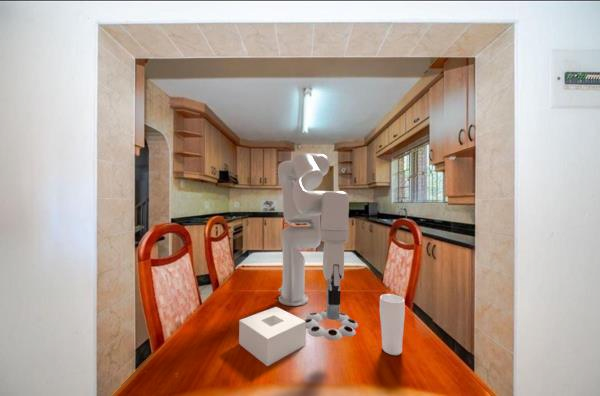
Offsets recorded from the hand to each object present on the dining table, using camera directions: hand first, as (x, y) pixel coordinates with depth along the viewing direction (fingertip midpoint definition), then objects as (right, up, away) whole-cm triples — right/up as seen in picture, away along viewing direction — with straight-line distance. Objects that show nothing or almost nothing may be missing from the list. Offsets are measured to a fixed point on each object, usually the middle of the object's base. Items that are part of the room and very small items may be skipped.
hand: (333, 300), depth 70 cm
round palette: (+1, -16, +17) cm, 23 cm away
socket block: (-18, -15, +4) cm, 23 cm away
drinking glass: (+17, -15, +2) cm, 23 cm away
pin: (0, -5, 0) cm, 5 cm away
